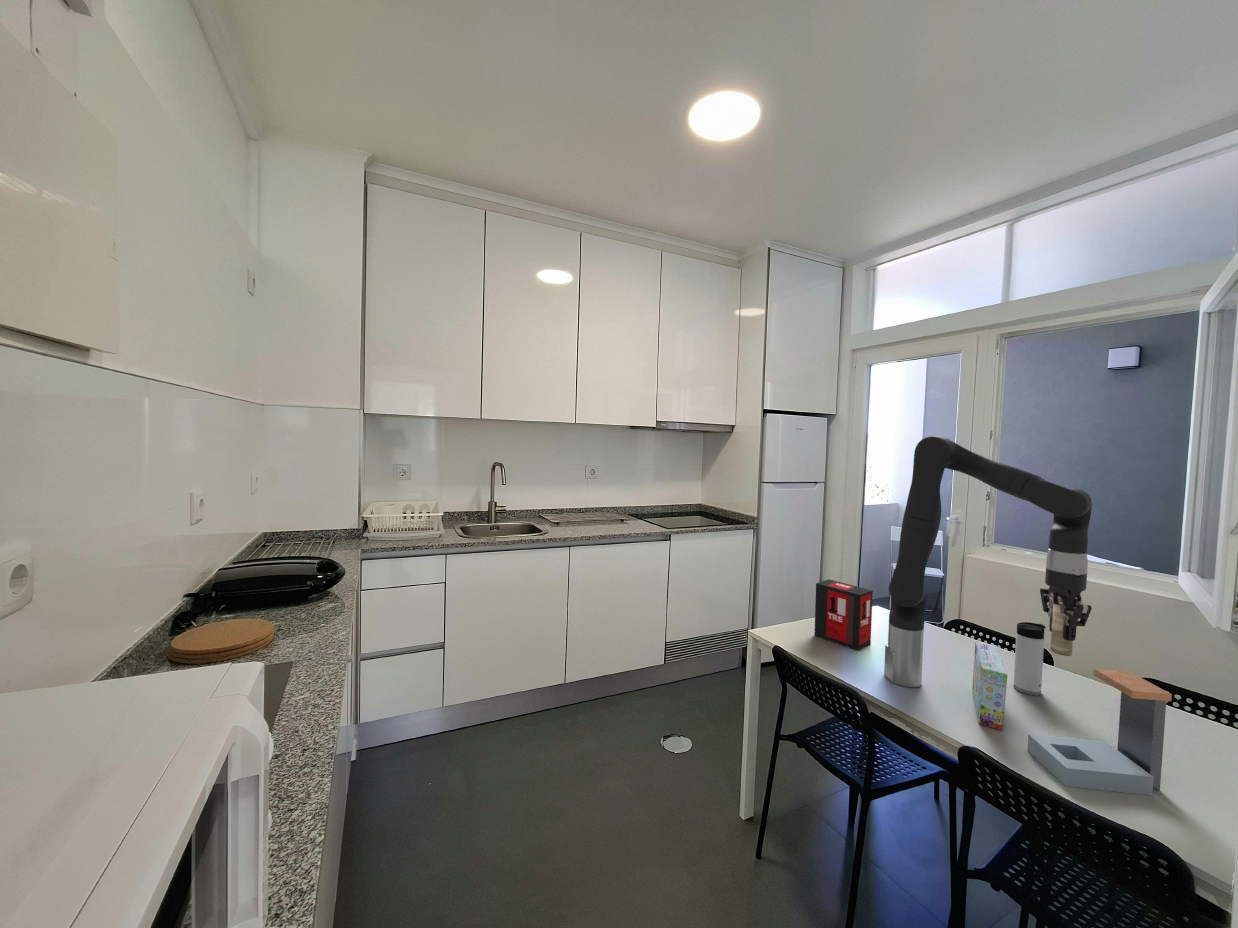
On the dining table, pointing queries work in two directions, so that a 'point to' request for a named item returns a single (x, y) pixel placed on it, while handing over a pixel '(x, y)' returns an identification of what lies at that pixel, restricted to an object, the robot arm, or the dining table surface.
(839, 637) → the cleaning product box
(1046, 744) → the socket block
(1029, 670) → the travel mug
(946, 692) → the dining table surface
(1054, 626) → the peg
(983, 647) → the snack box
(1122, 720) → the orange-capped grey pillar
